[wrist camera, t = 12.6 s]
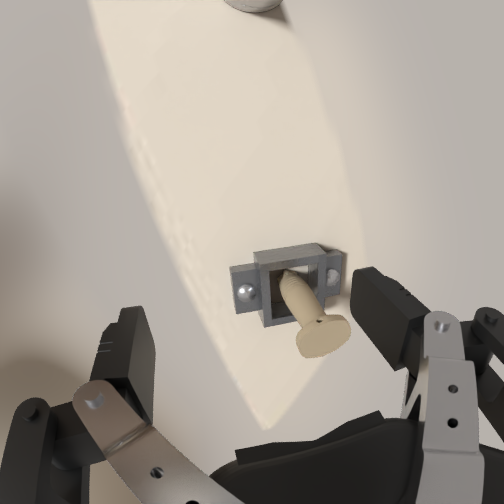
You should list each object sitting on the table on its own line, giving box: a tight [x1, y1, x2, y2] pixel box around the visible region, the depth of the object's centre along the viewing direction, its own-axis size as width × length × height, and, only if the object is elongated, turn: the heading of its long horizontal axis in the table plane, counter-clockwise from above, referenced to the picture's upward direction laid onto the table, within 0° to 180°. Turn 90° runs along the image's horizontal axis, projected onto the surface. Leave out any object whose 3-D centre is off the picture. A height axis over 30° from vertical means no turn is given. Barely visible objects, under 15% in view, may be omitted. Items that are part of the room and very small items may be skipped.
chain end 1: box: [230, 244, 319, 328], centre depth 45 cm, size 10×12×4 cm
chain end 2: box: [271, 243, 342, 326], centre depth 45 cm, size 10×12×4 cm
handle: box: [277, 270, 351, 358], centre depth 40 cm, size 5×6×15 cm
